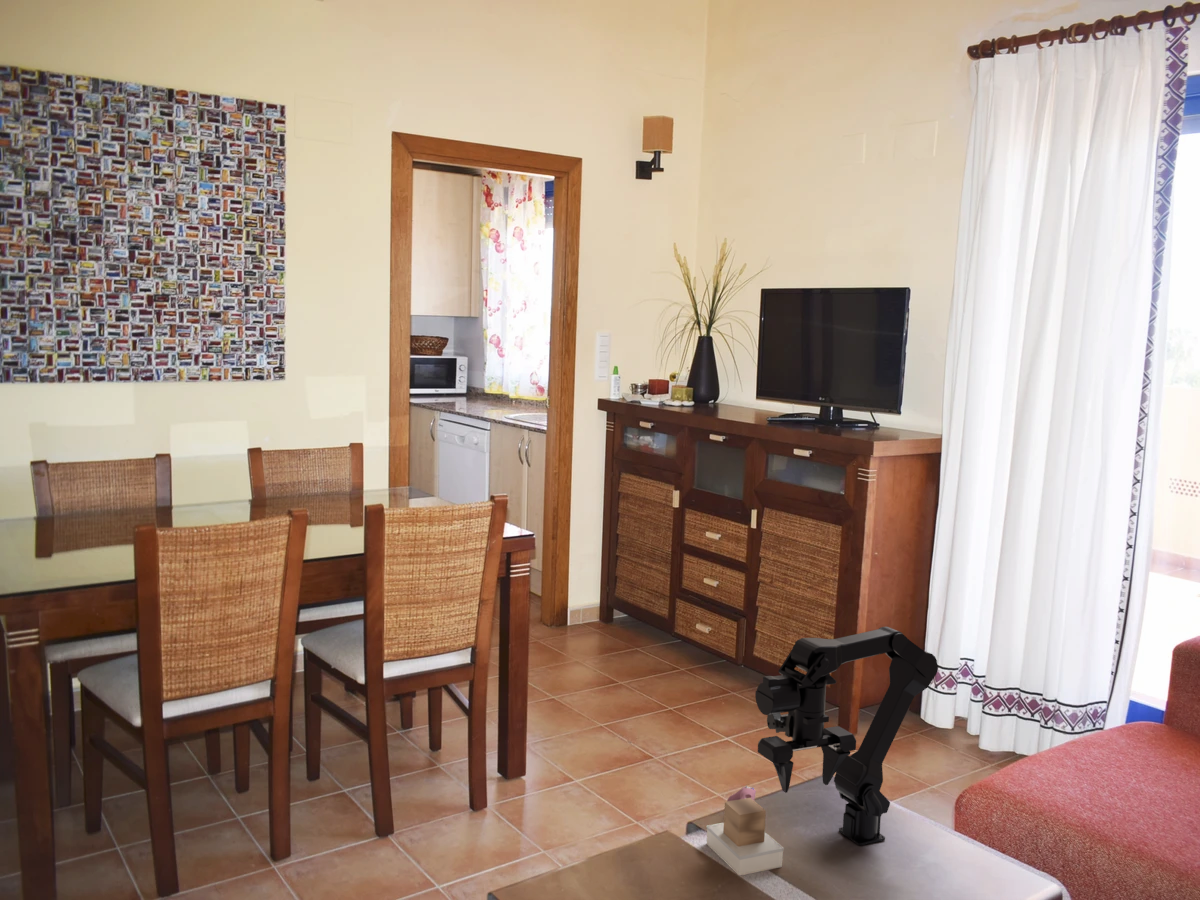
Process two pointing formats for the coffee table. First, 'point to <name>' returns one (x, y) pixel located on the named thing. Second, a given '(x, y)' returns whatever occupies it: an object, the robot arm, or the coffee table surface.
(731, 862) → the white rectangular box
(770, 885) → the coffee table surface
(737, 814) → the walnut block
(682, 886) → the coffee table surface
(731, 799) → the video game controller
